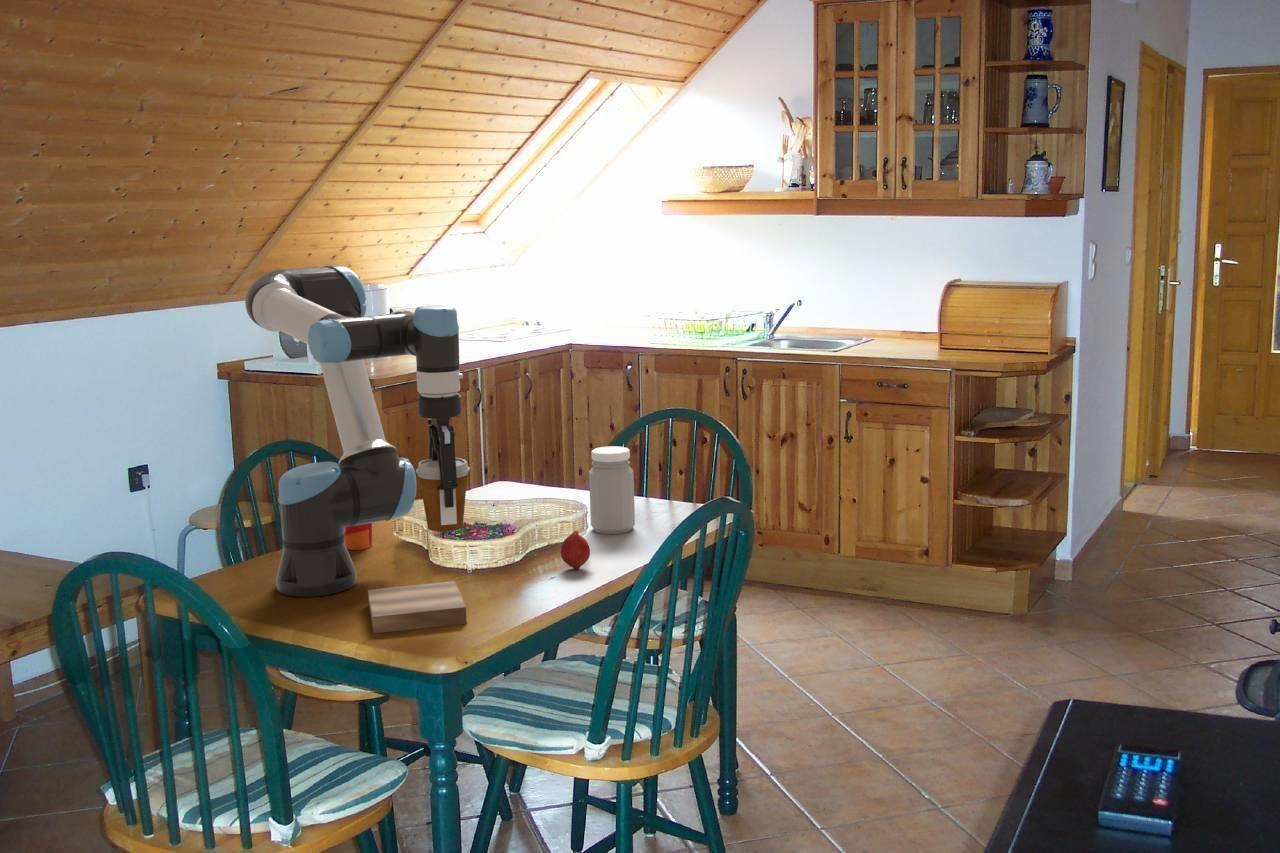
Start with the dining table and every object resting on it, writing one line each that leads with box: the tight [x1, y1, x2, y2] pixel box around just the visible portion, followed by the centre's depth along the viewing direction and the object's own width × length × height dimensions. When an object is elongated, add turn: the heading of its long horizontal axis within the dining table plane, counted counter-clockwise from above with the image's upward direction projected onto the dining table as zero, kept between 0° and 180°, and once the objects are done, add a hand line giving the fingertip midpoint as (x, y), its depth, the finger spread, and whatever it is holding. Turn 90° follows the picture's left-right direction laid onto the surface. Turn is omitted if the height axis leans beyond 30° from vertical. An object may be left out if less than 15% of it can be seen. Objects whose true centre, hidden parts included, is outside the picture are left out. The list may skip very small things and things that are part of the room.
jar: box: [588, 445, 636, 535], centre depth 286 cm, size 10×10×18 cm
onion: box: [560, 529, 591, 570], centre depth 258 cm, size 6×6×8 cm
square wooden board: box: [367, 580, 468, 634], centre depth 233 cm, size 16×16×3 cm
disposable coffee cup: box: [415, 457, 470, 533], centre depth 234 cm, size 10×10×12 cm
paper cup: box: [344, 523, 373, 551], centre depth 278 cm, size 8×8×14 cm
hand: (444, 517), depth 235 cm, fingers closed on disposable coffee cup, 8 cm apart
